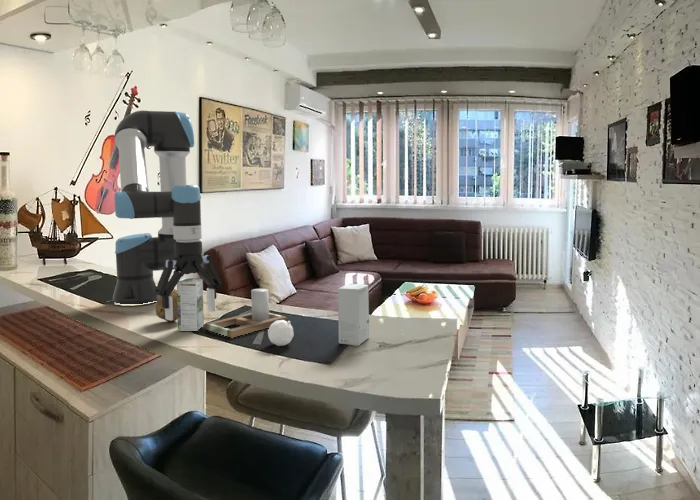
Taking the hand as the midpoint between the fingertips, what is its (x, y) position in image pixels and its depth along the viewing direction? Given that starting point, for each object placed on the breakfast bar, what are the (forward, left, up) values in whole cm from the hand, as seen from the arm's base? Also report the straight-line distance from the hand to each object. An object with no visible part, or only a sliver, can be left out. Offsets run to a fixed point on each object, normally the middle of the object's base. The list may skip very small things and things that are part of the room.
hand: (190, 315), depth 156 cm
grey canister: (+10, +17, -4) cm, 20 cm away
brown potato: (-11, +1, -4) cm, 12 cm away
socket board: (+10, +12, -4) cm, 16 cm away
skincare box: (+42, +22, -4) cm, 48 cm away
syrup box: (0, 0, -4) cm, 4 cm away
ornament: (+30, +7, -4) cm, 31 cm away
